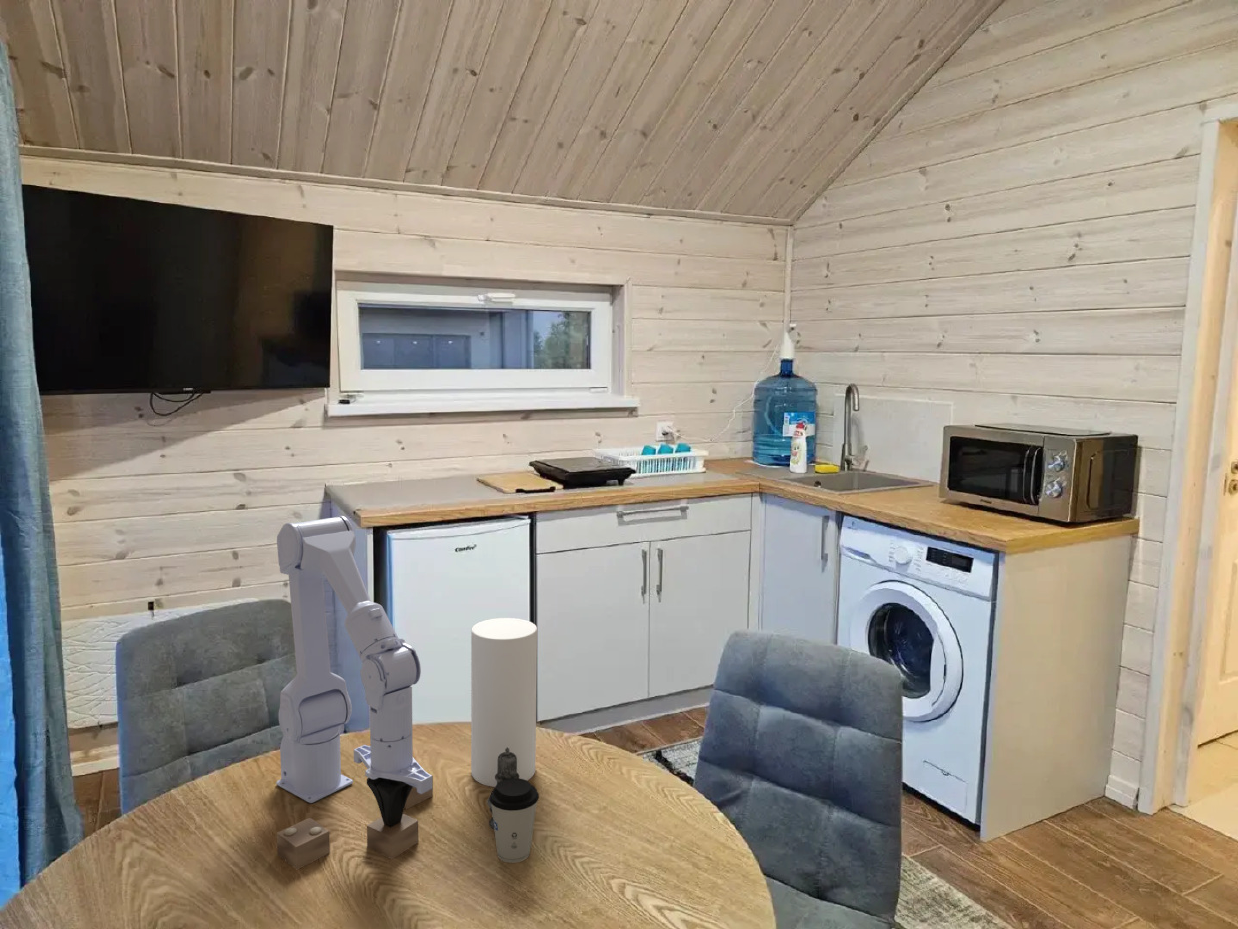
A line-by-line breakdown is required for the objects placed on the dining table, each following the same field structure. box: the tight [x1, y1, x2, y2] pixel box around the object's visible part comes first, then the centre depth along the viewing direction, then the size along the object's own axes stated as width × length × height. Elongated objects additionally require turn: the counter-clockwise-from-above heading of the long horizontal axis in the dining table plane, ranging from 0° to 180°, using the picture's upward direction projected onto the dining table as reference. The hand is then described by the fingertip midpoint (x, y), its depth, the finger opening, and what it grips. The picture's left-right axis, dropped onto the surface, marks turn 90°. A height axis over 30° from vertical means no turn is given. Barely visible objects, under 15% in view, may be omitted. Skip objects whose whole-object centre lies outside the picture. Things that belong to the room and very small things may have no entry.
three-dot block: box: [404, 775, 434, 810], centre depth 132 cm, size 5×5×4 cm
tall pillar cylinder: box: [470, 617, 538, 788], centre depth 139 cm, size 11×11×25 cm
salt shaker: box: [486, 747, 519, 831], centre depth 125 cm, size 6×6×12 cm
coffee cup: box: [488, 778, 540, 864], centre depth 118 cm, size 7×7×10 cm
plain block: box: [366, 813, 419, 860], centre depth 119 cm, size 5×5×4 cm
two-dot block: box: [276, 817, 331, 870], centre depth 117 cm, size 5×5×4 cm
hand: (392, 822), depth 119 cm, fingers closed
